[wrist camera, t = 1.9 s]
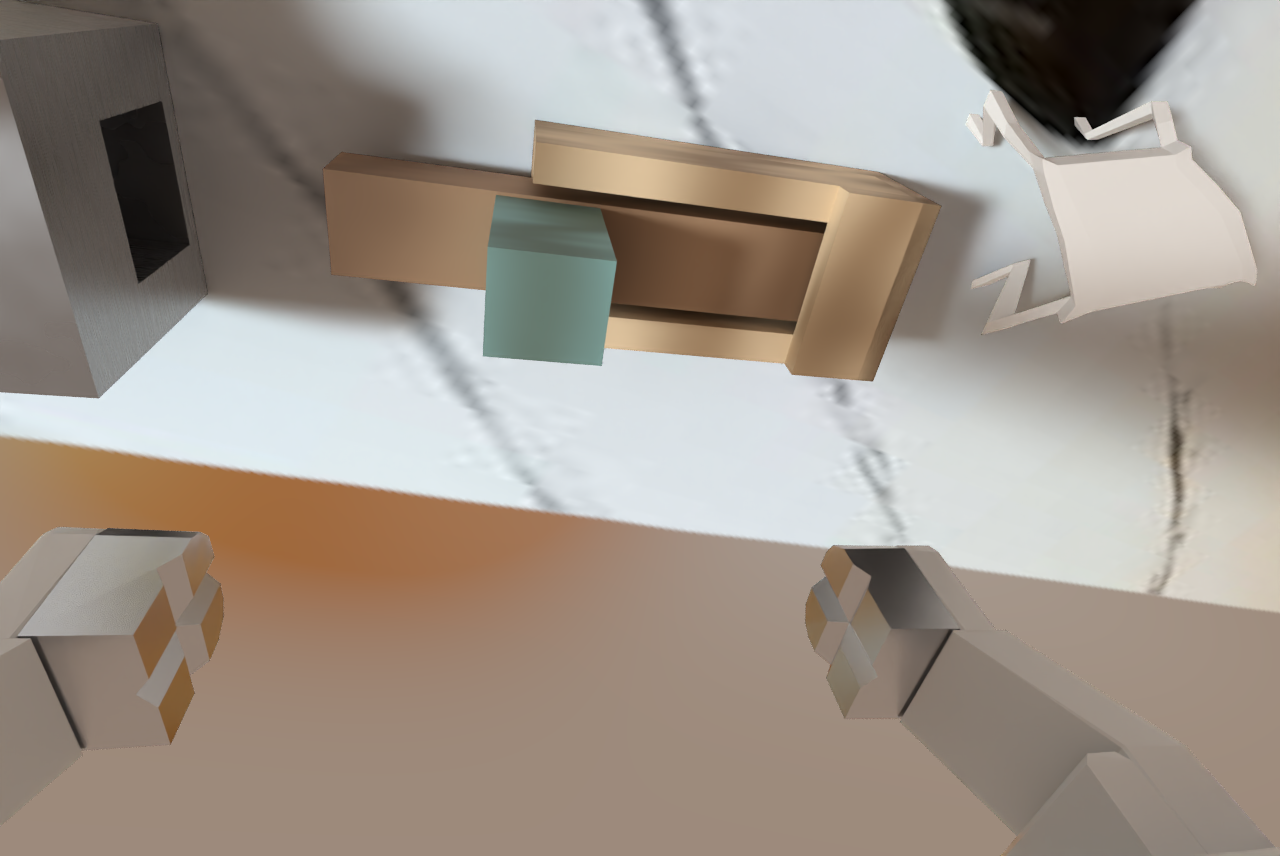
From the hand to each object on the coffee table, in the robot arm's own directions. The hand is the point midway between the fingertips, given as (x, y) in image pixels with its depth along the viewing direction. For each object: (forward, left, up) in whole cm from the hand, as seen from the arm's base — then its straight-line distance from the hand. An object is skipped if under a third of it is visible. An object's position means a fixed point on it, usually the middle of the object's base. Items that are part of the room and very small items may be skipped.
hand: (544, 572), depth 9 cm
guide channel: (-6, 0, -17) cm, 18 cm away
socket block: (+12, 0, -17) cm, 21 cm away
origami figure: (-20, -3, -17) cm, 26 cm away
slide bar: (-2, 0, -16) cm, 16 cm away
